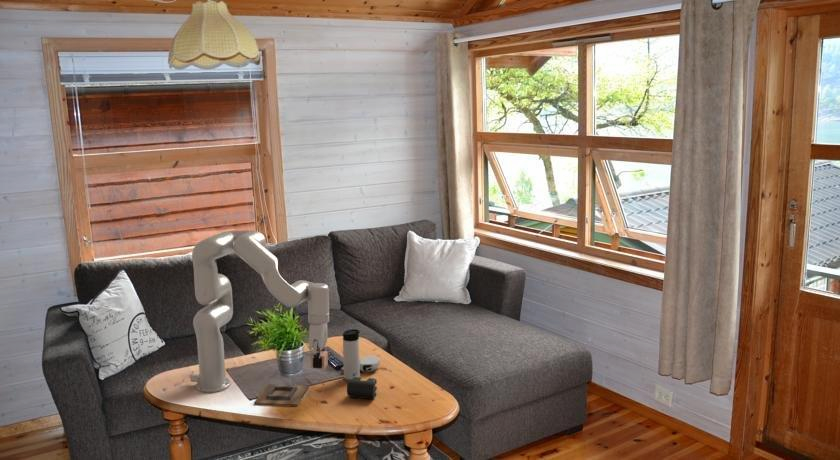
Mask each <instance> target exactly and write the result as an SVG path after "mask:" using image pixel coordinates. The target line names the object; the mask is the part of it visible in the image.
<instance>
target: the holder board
mask: <svg viewBox="0 0 840 460" xmlns="http://www.w3.org/2000/svg"><path fill="white" fill-rule="evenodd" d="M309 387H310V386H309V385H296V384H270V383H269V384H267V385H266V386H265V388H264V389H263V390H262V392H260V393H259V396H257V398H255V399H256V400H254V401H253V405H254V406H256V405H257V406H259V405H260V406H277V407H278V406H279V407H298V406H299V405H300V403H301V401H302V400H301V399H303V398H304V396H305V395H306V393H307V392H308V390H309ZM304 394H305V395H304ZM299 402H300V403H299ZM287 405H289V406H287Z"/></svg>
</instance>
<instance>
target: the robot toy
mask: <svg viewBox="0 0 840 460" xmlns="http://www.w3.org/2000/svg"><path fill="white" fill-rule="evenodd" d="M380 356H381V355H380V354H378V355H365V356H363V357H361V359H360V358H359V363H360V371H361V372H366V373H371V372H373V371H375V370H376V369H378V368H379V366H380V365H381V364H380ZM342 365H343V366H342V367H341V368H340V370H341V371H344V362H343V363H342Z"/></svg>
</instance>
